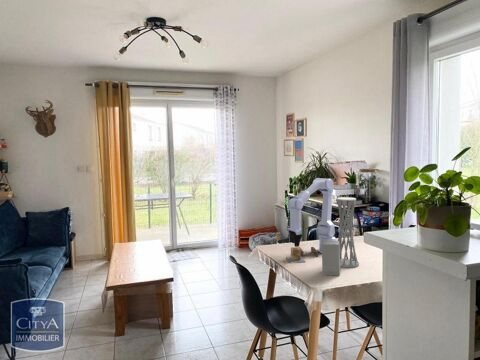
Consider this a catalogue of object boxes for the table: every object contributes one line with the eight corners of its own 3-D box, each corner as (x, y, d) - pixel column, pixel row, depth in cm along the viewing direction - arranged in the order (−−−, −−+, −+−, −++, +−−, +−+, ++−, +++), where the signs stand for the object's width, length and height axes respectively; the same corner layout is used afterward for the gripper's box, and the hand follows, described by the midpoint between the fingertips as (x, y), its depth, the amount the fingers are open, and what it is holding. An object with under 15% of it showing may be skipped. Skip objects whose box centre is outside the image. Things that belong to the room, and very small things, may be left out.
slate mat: (301, 257, 199) (301, 256, 199) (305, 262, 190) (305, 261, 190) (285, 257, 199) (285, 257, 199) (288, 262, 190) (288, 261, 190)
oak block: (298, 257, 197) (298, 247, 196) (300, 260, 192) (300, 249, 192) (290, 258, 197) (290, 247, 196) (292, 260, 192) (292, 249, 192)
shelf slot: (313, 251, 210) (313, 246, 210) (317, 256, 200) (317, 251, 200) (297, 252, 210) (297, 247, 210) (301, 257, 200) (301, 251, 200)
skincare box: (340, 272, 174) (340, 240, 173) (339, 276, 167) (339, 244, 166) (322, 270, 177) (323, 239, 176) (321, 275, 170) (321, 242, 169)
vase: (351, 259, 194) (352, 196, 192) (363, 267, 181) (365, 199, 178) (328, 261, 192) (328, 197, 189) (339, 269, 179) (339, 200, 176)
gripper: (285, 218, 200) (286, 241, 201) (290, 223, 186) (290, 248, 187) (298, 217, 200) (298, 241, 201) (303, 222, 186) (303, 248, 187)
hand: (295, 244), depth 194 cm, fingers open, 7 cm apart
